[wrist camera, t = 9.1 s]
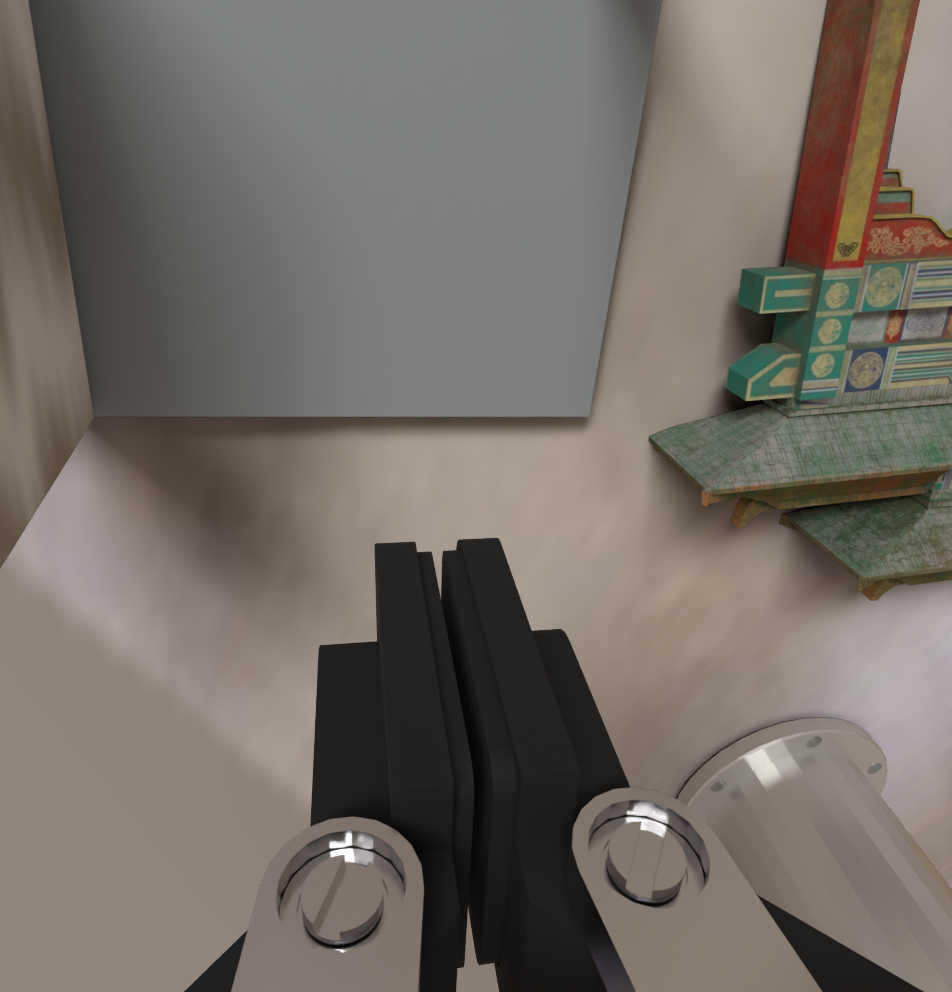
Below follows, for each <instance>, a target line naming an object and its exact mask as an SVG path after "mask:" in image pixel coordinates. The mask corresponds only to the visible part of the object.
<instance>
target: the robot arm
mask: <svg viewBox="0 0 952 992" xmlns="http://www.w3.org/2000/svg"><path fill="white" fill-rule="evenodd" d="M375 580H376V616H377V642H362V643H347V644H333V645H320V647H319V656H318V677H317V698H316V719H315V741H314V762H313V784H312V805H311V827H308V828H306V829H305V830H303V831H302V832H301V833H299V834H298V835H296V836H295V837H293V838H292V839H291V840H289V841H288V842H286V843H285V845H284V846H283V847H282V848H281V849H280V851H279V852H278V853H277V854H276V855H275V857H274V858H273V859H272V860H271V861H270V863H269V865H268V868H267V870H266V872H265V874H264V877H263V879H262V881H261V884H260V886H259V890H258V893H257V897H256V901H255V905H254V908H253V912H252V916H251V920H250V923H249V927H248V930H247V931H246V932H245V933H244V934H243V935H242V936H241V937H240V938H239V939H238V940H237V941H236V942H235V943H234V944H233V945H232V946H231V947H230V948H229V949H228V950H227V951H226V952H225V953H223V954H222V956H221V957H219V958H218V959H217V960H216V961H215V962H214V963H213V964H212V965H211V966H210V967H209V968H208V969H207V970H206V971H205V972H204V973H203V974H202V975H201V976H200V977H199V978H198V979H197V980H196V981H195V982H194V983H193V984H192V985H191V986H190V987H189V988H187V990H185V991H184V992H456V982H457V968H462V967H464V961H465V945H466V929H467V912H468V908H469V915H470V921H471V928H472V934H473V941H474V947H475V953H476V958H477V962H478V964H479V965H483V964H490V963H494V964H495V970H496V976H497V982H498V987H499V992H952V889H951V887H950V886H949V885H948V883H947V882H946V881H945V879H944V878H943V877H942V876H941V874H940V873H939V872H938V870H937V869H936V868H935V866H934V865H933V864H932V862H931V861H930V860H929V859H928V857H927V856H926V855H925V853H924V852H923V851H922V849H921V848H920V847H919V845H918V844H917V843H916V842H915V840H914V839H913V838H912V836H911V835H910V834H909V832H908V831H907V830H906V829H905V827H904V826H903V825H902V823H901V822H900V821H899V819H898V818H897V817H896V815H895V814H894V813H893V812H892V810H891V809H890V808H889V806H888V805H887V804H886V802H885V801H884V800H883V798H882V797H881V796H880V795H881V793H882V791H883V788H884V786H885V782H886V776H887V763H886V758H885V756H884V754H883V752H882V750H881V748H880V747H879V746H878V744H877V743H876V742H875V741H874V740H873V739H872V737H871V736H870V735H869V734H868V733H867V732H866V731H865V730H863V729H862V728H860V727H859V726H857V725H856V724H853V723H850V722H847V721H844V720H840V719H831V718H806V719H798V720H793V721H788V722H783V723H780V724H777V725H774V726H771V727H768V728H764V729H761V730H759V731H757V732H755V733H753V734H750V735H748V736H746V737H744V738H742V739H740V740H738V741H737V742H735V743H733V744H732V745H730V746H728V747H727V748H725V749H723V750H722V751H720V752H719V753H718V754H717V755H715V756H714V757H713V758H711V759H710V760H709V761H708V762H706V763H705V764H704V765H703V766H702V767H701V768H700V769H699V770H698V771H697V772H696V773H695V774H694V775H693V776H692V777H691V778H690V780H689V781H688V783H687V784H686V785H685V787H684V788H683V790H682V791H681V792H680V794H679V796H678V798H677V799H675V798H673V797H670V796H668V795H666V794H663V793H661V792H658V791H655V790H649V789H643V788H637V787H630V786H629V783H628V781H627V778H626V776H625V774H624V771H623V769H622V766H621V764H620V762H619V759H618V757H617V754H616V752H615V750H614V747H613V745H612V742H611V740H610V737H609V735H608V733H607V730H606V728H605V725H604V723H603V721H602V718H601V716H600V713H599V711H598V709H597V706H596V704H595V701H594V699H593V696H592V694H591V692H590V689H589V687H588V684H587V682H586V680H585V677H584V675H583V672H582V670H581V668H580V665H579V663H578V660H577V658H576V655H575V653H574V651H573V648H572V646H571V643H570V641H569V639H568V637H567V635H566V633H565V632H564V631H563V630H561V629H553V630H538V631H532V630H531V628H530V625H529V622H528V619H527V616H526V613H525V610H524V608H523V605H522V602H521V599H520V596H519V593H518V591H517V588H516V585H515V582H514V579H513V576H512V574H511V571H510V568H509V565H508V562H507V559H506V556H505V554H504V551H503V548H502V545H501V542H500V540H499V539H498V538H484V539H463V540H458V542H457V548H456V550H454V551H443V555H442V587H441V598H440V593H439V588H438V582H437V577H436V572H435V567H434V562H433V556H432V552H417V549H416V544H415V542H400V543H378V544H375Z"/></svg>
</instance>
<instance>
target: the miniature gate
mask: <svg viewBox="0 0 952 992" xmlns="http://www.w3.org/2000/svg"><path fill="white" fill-rule="evenodd" d="M919 2H920V0H828V4H827V10H826V16H825V23H824V29H823V35H822V41H821V47H820V53H819V59H818V65H817V71H816V77H815V83H814V89H813V95H812V101H811V107H810V113H809V119H808V125H807V131H806V137H805V143H804V149H803V155H802V161H801V167H800V173H799V179H798V186H797V192H796V198H795V204H794V210H793V216H792V222H791V228H790V234H789V240H788V246H787V252H786V258H785V264H784V267H768V268H750V269H742V273H741V280H740V287H739V294H738V301H737V305H740V306H742V307H745V308H747V309H749V310H752V311H754V312H756V313H759V314H762V313H776V318H775V324H774V330H773V336H772V342H771V343H769V344H761V345H759V346H758V347H756V348H755V349H754V350H752V351H751V352H749V353H748V354H746V355H745V356H744V357H742V358H741V359H739V360H738V361H737V362H735V363H734V364H732V365H731V366H729V367H728V372H727V379H726V386H725V388H726V389H728V390H729V391H731V392H732V393H734V394H735V395H737V396H739V397H740V398H742V399H743V400H745V401H753V400H763V401H764V402H765V403H763V404H759V405H755V406H752V407H748V408H744V409H740V410H736V411H732V412H728V413H724V414H720V415H716V416H712V417H709V418H705V419H701V420H697V421H693V422H689V423H685V424H681V425H677V426H673V427H670V428H668V429H665V430H662V431H659V432H657V433H655V434H653V435H651V436H649V441H650V442H651V443H652V444H653V445H654V449H656V450H658V451H660V452H661V453H662V454H664V455H665V456H666V457H667V458H668V459H669V460H670V461H671V462H672V463H673V464H674V465H675V466H676V467H677V468H678V469H679V470H680V471H681V472H682V473H684V474H685V475H686V476H687V477H688V478H689V479H690V480H691V481H692V482H693V483H694V484H695V485H696V486H697V487H698V488H699V489H700V490H701V491H702V499H701V505H703V506H708V505H709V504H710V503H715V502H721V501H726V500H731V499H736V498H740V500H739V502H738V504H737V506H736V508H735V510H734V513H733V515H732V517H731V519H730V521H731V522H732V523H733V524H735V525H736V526H737V527H738V528H741V527H745V526H746V525H747V524H748V523H749V522H750V521H751V520H752V519H753V518H754V517H755V516H756V515H758V514H759V513H761V512H763V511H765V510H767V509H771V508H774V507H775V508H777V509H779V510H781V509H790V508H799V507H808V506H817V505H825V506H820V507H815V508H810V509H805V510H800V511H795V512H790V513H786V514H782V516H781V519H780V522H779V524H782V525H786V526H789V527H791V528H794V529H797V530H800V531H801V532H802V533H804V534H805V535H806V536H807V537H808V538H810V539H811V540H812V541H813V542H814V543H815V544H817V545H818V546H819V547H820V548H821V549H823V550H824V551H825V552H826V553H827V554H829V555H830V556H831V557H832V558H833V559H835V560H836V561H837V562H838V563H839V564H841V565H842V566H843V567H844V568H845V569H846V570H848V571H849V572H850V573H851V574H852V575H854V576H855V577H856V578H857V579H858V583H857V588H856V590H857V591H860V592H862V594H864V595H865V596H866V597H867V598H868V599H869V600H871V601H874V600H878V599H879V598H880V597H881V596H882V595H883V594H884V593H885V592H886V591H888V590H889V589H890V588H892V587H894V586H896V585H899V584H902V583H906V584H908V585H915V584H923V583H930V582H937V581H945V580H952V228H951V229H950V230H948V231H945V230H944V229H943V228H942V227H941V225H940V224H939V223H938V221H937V220H935V219H934V218H933V217H930V216H924V215H917V214H914V196H915V193H914V189H912V188H905V187H903V184H902V172H901V170H899V169H888V168H887V167H888V161H889V156H890V150H891V144H892V139H893V133H894V127H895V122H896V116H897V110H898V105H899V99H900V93H901V92H900V91H901V86H902V82H903V77H904V72H905V68H906V63H907V58H908V53H909V49H910V44H911V39H912V35H913V30H914V25H915V21H916V16H917V11H918V6H919ZM834 503H836V504H834ZM826 504H831V505H826Z"/></svg>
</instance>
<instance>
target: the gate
mask: <svg viewBox="0 0 952 992" xmlns="http://www.w3.org/2000/svg"><path fill="white" fill-rule="evenodd" d="M93 419H94V415H93V409H92V403H91V396H90V390H89V384H88V377H87V371H86V365H85V358H84V352H83V345H82V339H81V333H80V326H79V320H78V314H77V307H76V301H75V294H74V288H73V282H72V275H71V269H70V263H69V256H68V250H67V243H66V237H65V231H64V224H63V218H62V212H61V205H60V199H59V193H58V186H57V180H56V173H55V167H54V161H53V154H52V148H51V142H50V135H49V129H48V122H47V116H46V110H45V103H44V97H43V91H42V84H41V78H40V72H39V65H38V59H37V52H36V46H35V40H34V33H33V27H32V21H31V14H30V8H29V1H28V0H0V568H1V567H2V565H3V564H4V562H5V560H6V559H7V557H8V556H9V554H10V552H11V551H12V549H13V547H14V546H15V544H16V543H17V541H18V539H19V538H20V536H21V535H22V533H23V531H24V530H25V528H26V527H27V525H28V523H29V522H30V520H31V518H32V517H33V515H34V514H35V512H36V510H37V509H38V507H39V506H40V504H41V502H42V501H43V499H44V498H45V496H46V494H47V493H48V491H49V490H50V488H51V486H52V485H53V483H54V481H55V480H56V478H57V477H58V475H59V473H60V472H61V470H62V469H63V467H64V465H65V464H66V462H67V461H68V459H69V457H70V456H71V454H72V452H73V451H74V449H75V448H76V446H77V444H78V443H79V441H80V440H81V438H82V436H83V435H84V433H85V432H86V430H87V428H88V427H89V425H90V424H91V422H92V420H93Z"/></svg>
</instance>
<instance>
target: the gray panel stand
mask: <svg viewBox="0 0 952 992" xmlns="http://www.w3.org/2000/svg"><path fill="white" fill-rule="evenodd" d="M28 1H29V8H30V14H31V21H32V27H33V33H34V40H35V46H36V52H37V59H38V65H39V72H40V78H41V84H42V91H43V97H44V103H45V110H46V116H47V122H48V129H49V135H50V142H51V148H52V154H53V161H54V167H55V173H56V180H57V186H58V193H59V199H60V205H61V212H62V218H63V224H64V231H65V237H66V243H67V250H68V256H69V263H70V269H71V275H72V282H73V288H74V294H75V301H76V307H77V314H78V320H79V326H80V333H81V339H82V345H83V352H84V358H85V365H86V371H87V377H88V384H89V390H90V396H91V403H92V409H93V415H94V417H589V414H590V408H591V403H592V397H593V391H594V386H595V380H596V374H597V368H598V363H599V357H600V351H601V346H602V340H603V334H604V328H605V323H606V317H607V311H608V306H609V300H610V294H611V288H612V283H613V277H614V271H615V266H616V260H617V254H618V248H619V243H620V237H621V231H622V226H623V220H624V214H625V208H626V203H627V197H628V191H629V186H630V180H631V174H632V168H633V163H634V157H635V151H636V146H637V140H638V134H639V128H640V123H641V117H642V111H643V106H644V100H645V94H646V88H647V83H648V77H649V71H650V66H651V60H652V54H653V48H654V43H655V37H656V31H657V26H658V20H659V14H660V9H661V3H662V0H28Z"/></svg>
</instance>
